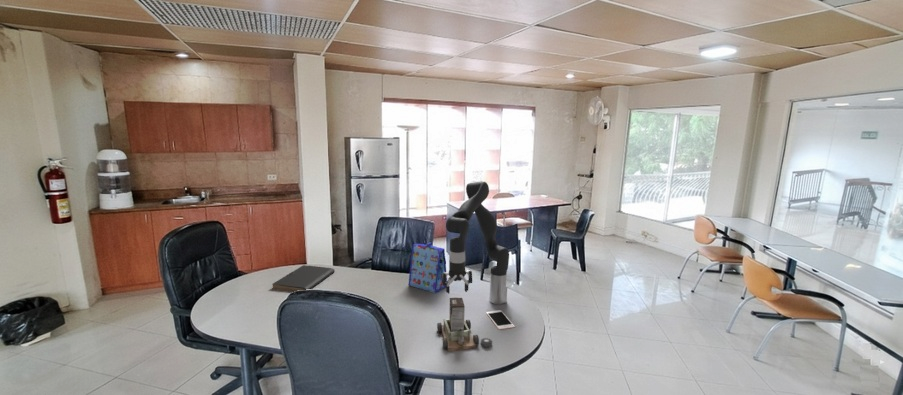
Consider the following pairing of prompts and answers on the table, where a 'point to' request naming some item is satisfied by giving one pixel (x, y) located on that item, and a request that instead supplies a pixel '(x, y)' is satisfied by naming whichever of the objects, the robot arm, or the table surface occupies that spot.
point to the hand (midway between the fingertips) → (457, 292)
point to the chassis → (457, 337)
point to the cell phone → (500, 320)
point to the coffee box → (456, 314)
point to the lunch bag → (427, 267)
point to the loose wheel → (486, 342)
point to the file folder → (303, 278)
